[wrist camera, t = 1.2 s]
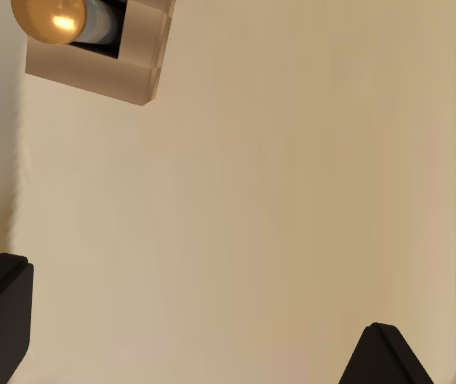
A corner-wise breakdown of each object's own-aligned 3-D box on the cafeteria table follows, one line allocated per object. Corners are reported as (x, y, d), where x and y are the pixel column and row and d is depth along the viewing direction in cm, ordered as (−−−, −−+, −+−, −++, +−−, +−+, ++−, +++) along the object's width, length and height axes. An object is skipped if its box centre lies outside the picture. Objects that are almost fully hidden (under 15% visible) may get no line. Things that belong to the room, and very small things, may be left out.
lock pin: (99, 0, 30) (13, -43, 18) (140, 12, 31) (85, -20, 18) (93, 43, 31) (8, 32, 19) (133, 55, 32) (76, 52, 19)
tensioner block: (77, -91, 28) (41, -129, 22) (186, -53, 29) (178, -80, 23) (59, 70, 32) (25, 72, 27) (155, 98, 33) (141, 106, 28)
